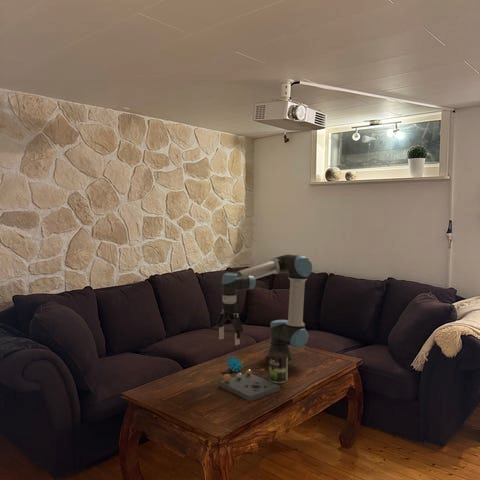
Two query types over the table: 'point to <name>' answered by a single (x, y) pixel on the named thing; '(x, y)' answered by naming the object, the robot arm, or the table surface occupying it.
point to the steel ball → (239, 376)
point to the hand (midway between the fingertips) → (229, 341)
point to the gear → (234, 364)
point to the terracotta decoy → (227, 378)
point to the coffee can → (278, 367)
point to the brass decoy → (248, 372)
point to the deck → (250, 387)
